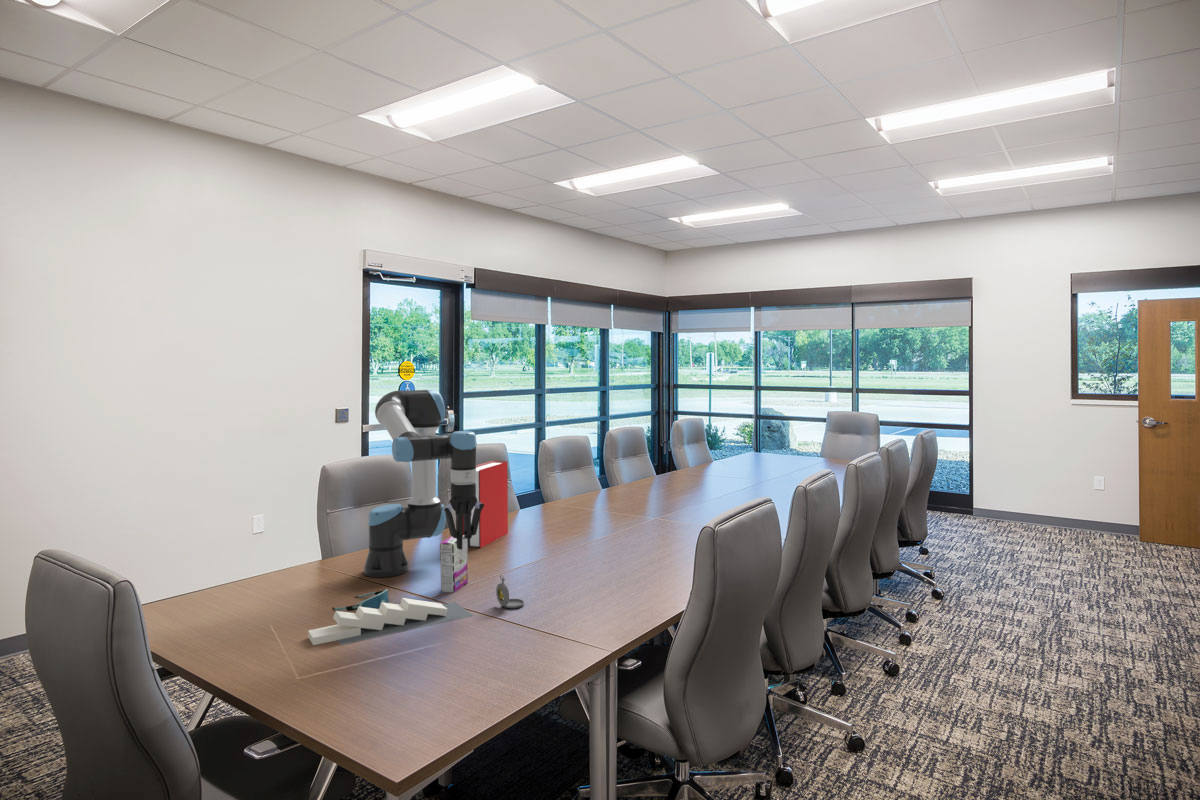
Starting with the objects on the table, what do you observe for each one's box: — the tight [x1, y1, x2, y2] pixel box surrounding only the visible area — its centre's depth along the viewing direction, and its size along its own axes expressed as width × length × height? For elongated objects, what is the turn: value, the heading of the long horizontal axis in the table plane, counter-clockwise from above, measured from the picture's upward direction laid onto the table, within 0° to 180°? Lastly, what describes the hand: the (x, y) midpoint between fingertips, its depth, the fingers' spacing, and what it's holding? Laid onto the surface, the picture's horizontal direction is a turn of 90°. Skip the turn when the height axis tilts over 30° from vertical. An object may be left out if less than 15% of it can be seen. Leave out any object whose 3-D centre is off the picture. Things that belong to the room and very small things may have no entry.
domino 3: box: [355, 606, 406, 626], centre depth 185 cm, size 6×2×12 cm
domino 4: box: [379, 602, 428, 621], centre depth 188 cm, size 6×2×12 cm
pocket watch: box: [495, 575, 525, 609], centre depth 201 cm, size 8×8×10 cm
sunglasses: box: [333, 588, 390, 612], centre depth 202 cm, size 14×15×5 cm
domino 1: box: [307, 624, 361, 646], centre depth 178 cm, size 6×2×12 cm
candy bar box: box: [439, 535, 469, 593], centre depth 219 cm, size 11×5×16 cm, turn 168°
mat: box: [336, 601, 474, 646], centre depth 188 cm, size 14×37×1 cm, turn 125°
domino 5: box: [399, 597, 448, 616], centre depth 192 cm, size 6×2×12 cm
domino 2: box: [332, 610, 384, 630], centre depth 181 cm, size 6×2×12 cm
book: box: [463, 460, 509, 549], centre depth 282 cm, size 27×8×32 cm, turn 163°
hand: (463, 558), depth 202 cm, fingers closed
